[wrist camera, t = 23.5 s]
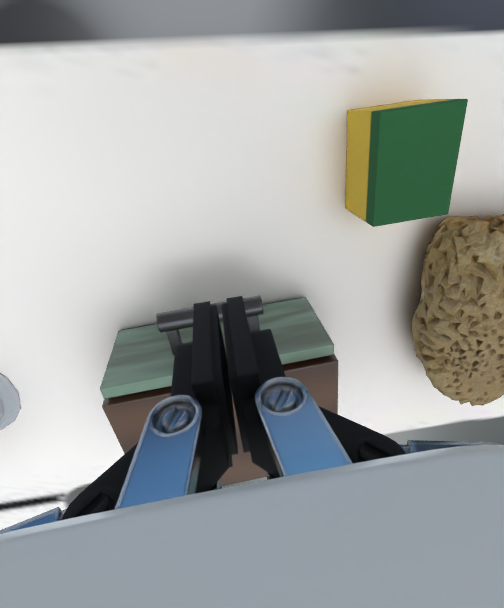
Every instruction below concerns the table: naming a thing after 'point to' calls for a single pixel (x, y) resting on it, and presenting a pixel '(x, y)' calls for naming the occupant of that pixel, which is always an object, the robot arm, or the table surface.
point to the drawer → (179, 329)
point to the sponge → (463, 310)
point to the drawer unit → (312, 373)
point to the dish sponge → (402, 159)
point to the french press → (8, 402)
